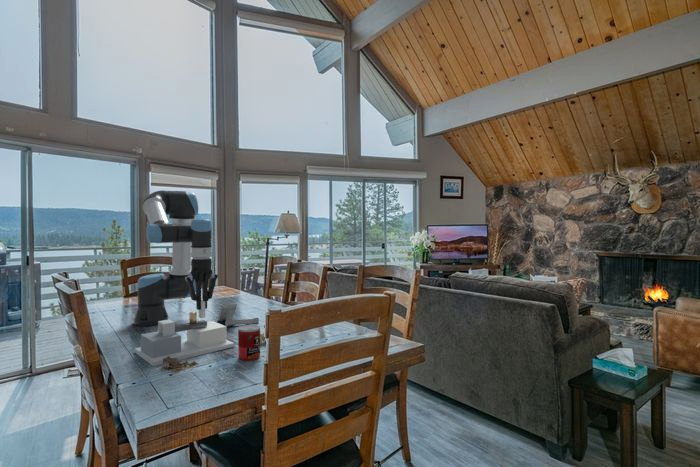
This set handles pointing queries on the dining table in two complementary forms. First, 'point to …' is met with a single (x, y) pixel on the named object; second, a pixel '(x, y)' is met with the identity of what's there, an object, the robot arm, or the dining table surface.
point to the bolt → (191, 323)
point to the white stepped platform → (182, 342)
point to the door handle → (228, 313)
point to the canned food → (249, 342)
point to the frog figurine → (178, 364)
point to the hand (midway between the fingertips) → (201, 317)
